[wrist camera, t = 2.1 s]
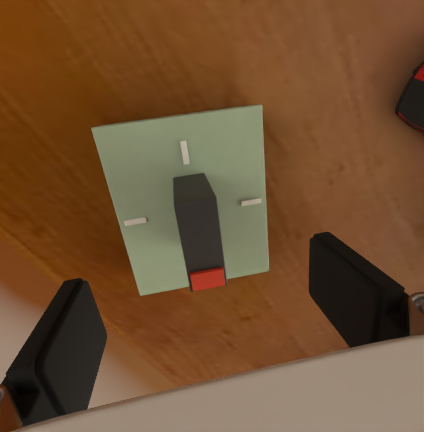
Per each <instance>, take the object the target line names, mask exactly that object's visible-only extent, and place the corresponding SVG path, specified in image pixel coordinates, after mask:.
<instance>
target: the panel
mask: <svg viewBox="0 0 424 432" xmlns="http://www.w3.org/2000/svg"><path fill="white" fill-rule="evenodd" d="M91 130H92V133H93V136H94V140H95V143H96V147H97V150H98V153H99V157H100V160H101V164H102V167H103V171H104V174H105V177H106V181H107V184H108V188H109V191H110V195H111V198H112V201H113V205H114V208H115V212H116V215H117V219H118V222H119V225H120V229H121V232H122V236H123V239H124V243H125V246H126V249H127V253H128V256H129V260H130V263H131V266H132V270H133V273H134V277H135V280H136V284H137V287H138V290H139V294H140V296H142V295H147V294H152V293H158V292H163V291H168V290H173V289H178V288H183V287H189V281H188V276H187V271H186V266H185V261H184V255H183V250H182V245H181V240H180V235H179V230H178V225H177V219H176V214H175V209H174V198H173V178H174V177H180V176H186V175H193V174H199V173H204V174H205V176H206V178H207V180H208V182H209V183H210V185H211V187H212V189H213V191H214V193H215V195H216V197H217V203H218V211H219V219H220V228H221V236H222V244H223V252H224V260H225V269H226V277H227V279H230V278H235V277H240V276H245V275H251V274H256V273H261V272H266V271H269V256H268V233H267V209H266V186H265V163H264V139H263V116H262V105H245V106H238V107H231V108H223V109H216V110H209V111H201V112H194V113H187V114H179V115H172V116H165V117H157V118H150V119H143V120H135V121H128V122H121V123H113V124H106V125H101V126H97V127H93V128H91Z"/></svg>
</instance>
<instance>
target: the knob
mask: <svg viewBox="0 0 424 432" xmlns="http://www.w3.org/2000/svg"><path fill="white" fill-rule="evenodd" d="M173 198H174V209H175V214H176V219H177V225H178V230H179V235H180V240H181V245H182V250H183V255H184V261H185V266H186V271H187V276H188V281H189V286H190V291H191V292H192V291H198V290H203V289H208V288H213V287H218V286H223V285H227V277H226V269H225V260H224V252H223V244H222V236H221V228H220V219H219V211H218V203H217V197H216V195H215V193H214V191H213V189H212V187H211V185H210V183H209V182H208V180H207V178H206V176H205V174H204V173H199V174H193V175H186V176H180V177H174V178H173Z"/></svg>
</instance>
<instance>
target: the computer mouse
mask: <svg viewBox="0 0 424 432" xmlns="http://www.w3.org/2000/svg"><path fill="white" fill-rule="evenodd" d="M395 113H396V114H397V115H398V116H399V117H400V118H401V119H402V120H403V121H404V122H406V123H407V124H408V125H409V126H411V127H412V128H414V129H416V130H417V131H419V132H421V133H422V134H423V136H424V61H423V62H422V64H421V65H420V66H419V67H417V68H416V69H415V70H414V72H413V75H412V77H411V79H410V80H409V82H408V83H407V85H406V87H405V89H404V91H403V93H402V95H401V97H400V99H399V101H398V104H397V106H396V109H395Z"/></svg>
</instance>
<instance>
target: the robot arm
mask: <svg viewBox="0 0 424 432" xmlns="http://www.w3.org/2000/svg"><path fill="white" fill-rule="evenodd" d="M404 289H405V288H404V287H403V286H401V285H400V284H399V283H397V282H396V281H394V280H393V279H392V278H390V277H389V276H388V275H386V274H385V273H384V272H382V271H381V270H380V269H378V268H377V267H376V266H374V265H373V264H372V263H370V262H369V261H368V260H366V259H365V258H363V257H362V256H361V255H359V254H358V253H357V252H355V251H354V250H353V249H351V248H350V247H349V246H347V245H346V244H345V243H343V242H342V241H341V240H339V239H338V238H336V237H335V236H334V235H332V234H331V233H330V232H323V233H318V234H314V236H313V238H311V239H310V252H309V293H310V295H311V297H312V299H313V300H314V301H315V303H316V304H317V305H318V306H319V308H320V309H321V310H322V312H323V313H324V314H325V316H326V317H327V318H328V319H329V321H330V322H331V323H332V325H333V326H334V327H335V329H336V330H337V331H338V332H339V334H340V335H341V336H342V338H343V339H344V340H345V341H346V343H347V344H348V345H349V347H350V348H347V349H342V350H338V351H334V352H329V353H325V354H320V355H316V356H311V357H307V358H303V359H298V360H294V361H289V362H285V363H280V364H276V365H272V366H267V367H263V368H259V369H254V370H250V371H246V372H241V373H237V374H233V375H228V376H224V377H220V378H216V379H211V380H207V381H203V382H198V383H194V384H190V385H186V386H181V387H177V388H174V389H169V390H165V391H161V392H157V393H152V394H148V395H144V396H139V397H136V398H131V399H127V400H123V401H118V402H115V403H110V404H106V405H102V406H98V407H94V408H90V409H87V408H88V404H89V401H90V398H91V394H92V390H93V387H94V383H95V379H96V376H97V373H98V369H99V365H100V361H101V358H102V355H103V351H104V348H105V344H106V340H107V334H106V330H105V327H104V324H103V321H102V319H101V316H100V313H99V310H98V308H97V305H96V302H95V300H94V297H93V294H92V292H91V289H90V286H89V284H88V282H87V281H83V280H82V279H81V278H78V279H72V280H67V281H64V282H63V284H62V285H61V287H60V289H59V290H58V292H57V293H56V295H55V296H54V298H53V300H52V301H51V303H50V304H49V306H48V308H47V309H46V311H45V312H44V314H43V315H42V317H41V319H40V320H39V322H38V323H37V325H36V326H35V328H34V330H33V331H32V333H31V335H30V336H29V338H28V339H27V341H26V342H25V344H24V345H23V347H22V349H21V350H20V352H19V353H18V355H17V357H16V358H15V360H14V361H13V363H12V364H11V366H10V368H9V369H8V371H7V373H6V377H5V378H4V380H3V382H2V383H1V384H0V432H424V292H417V293H414V294H412V295H411V296H409V295H408V294H406V293H405V292H404Z"/></svg>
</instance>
